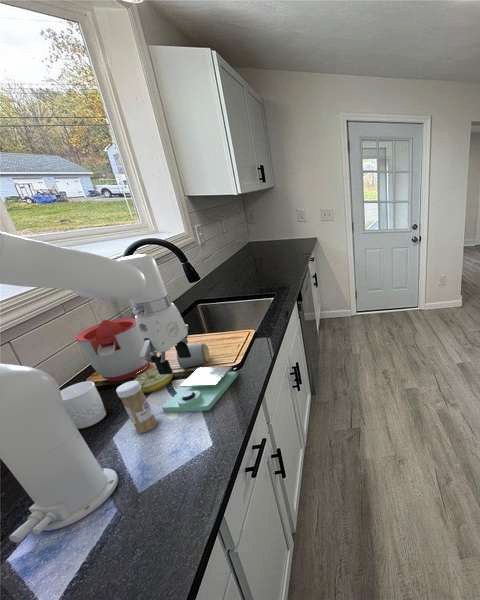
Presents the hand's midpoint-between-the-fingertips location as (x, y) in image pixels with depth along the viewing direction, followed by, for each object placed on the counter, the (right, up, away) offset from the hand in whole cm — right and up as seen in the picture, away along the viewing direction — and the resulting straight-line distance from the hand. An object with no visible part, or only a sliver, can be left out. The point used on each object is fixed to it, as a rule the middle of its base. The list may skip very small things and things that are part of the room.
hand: (176, 364), depth 84 cm
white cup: (-25, -16, +2) cm, 30 cm away
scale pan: (+1, -6, +12) cm, 14 cm away
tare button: (+1, -10, +4) cm, 11 cm away
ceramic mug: (-12, -5, +27) cm, 29 cm away
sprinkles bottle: (-6, -16, -2) cm, 18 cm away
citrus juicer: (-33, -8, +23) cm, 41 cm away
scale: (+1, -11, +10) cm, 15 cm away
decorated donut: (-18, -10, +16) cm, 26 cm away
